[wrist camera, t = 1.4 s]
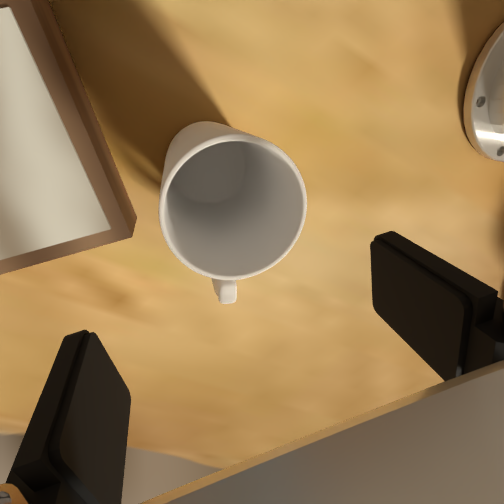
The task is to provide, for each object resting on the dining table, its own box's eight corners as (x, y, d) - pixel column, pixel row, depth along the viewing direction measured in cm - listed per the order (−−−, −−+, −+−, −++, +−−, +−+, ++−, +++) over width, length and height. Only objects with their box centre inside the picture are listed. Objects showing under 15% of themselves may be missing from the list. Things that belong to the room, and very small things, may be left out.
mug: (160, 113, 23) (154, 129, 12) (253, 119, 24) (318, 138, 14) (165, 244, 27) (164, 339, 17) (244, 242, 29) (289, 328, 18)
